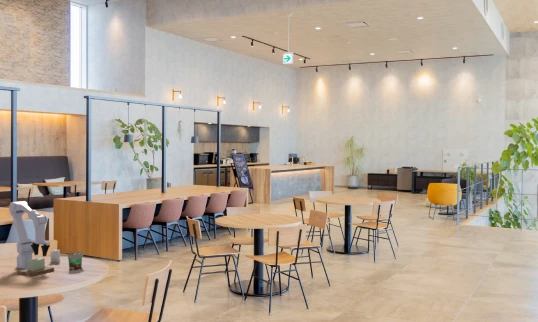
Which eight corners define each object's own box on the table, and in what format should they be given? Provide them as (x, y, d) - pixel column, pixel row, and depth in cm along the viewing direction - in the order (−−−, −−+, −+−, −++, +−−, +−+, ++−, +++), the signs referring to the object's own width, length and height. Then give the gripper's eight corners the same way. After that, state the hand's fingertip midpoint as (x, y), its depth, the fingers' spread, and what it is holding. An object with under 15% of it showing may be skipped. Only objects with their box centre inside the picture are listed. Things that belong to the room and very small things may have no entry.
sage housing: (27, 270, 330) (27, 260, 330) (40, 266, 339) (40, 257, 339) (32, 270, 328) (32, 261, 328) (46, 267, 337) (45, 258, 337)
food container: (76, 270, 336) (76, 255, 336) (67, 270, 337) (67, 254, 337) (87, 266, 348) (86, 251, 348) (78, 266, 349) (78, 251, 349)
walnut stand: (17, 274, 328) (17, 270, 328) (38, 268, 343) (38, 265, 343) (33, 276, 322) (33, 273, 322) (54, 270, 337) (54, 267, 337)
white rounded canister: (48, 262, 361) (48, 250, 361) (55, 260, 367) (55, 249, 366) (54, 263, 359) (54, 251, 358) (61, 261, 364) (61, 250, 364)
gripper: (53, 234, 337) (53, 255, 337) (37, 232, 343) (37, 253, 344) (44, 236, 331) (44, 257, 331) (28, 234, 337) (28, 255, 338)
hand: (40, 255), depth 337 cm, fingers open, 7 cm apart
